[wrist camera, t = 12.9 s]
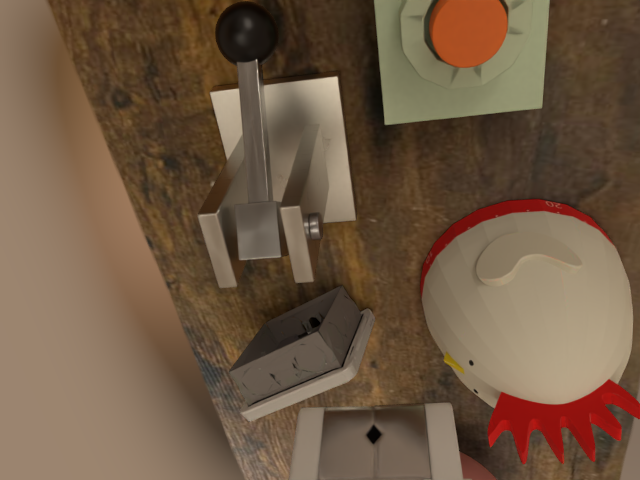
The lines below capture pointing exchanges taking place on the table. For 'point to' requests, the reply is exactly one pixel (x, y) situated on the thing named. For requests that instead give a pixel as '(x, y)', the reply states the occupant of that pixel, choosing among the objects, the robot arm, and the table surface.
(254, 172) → the switch lever
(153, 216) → the table surface
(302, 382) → the electrical switch
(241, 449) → the table surface
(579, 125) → the table surface
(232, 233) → the switch bracket
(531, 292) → the kitchen timer
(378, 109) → the table surface
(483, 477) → the balloon
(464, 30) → the button
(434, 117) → the control block
